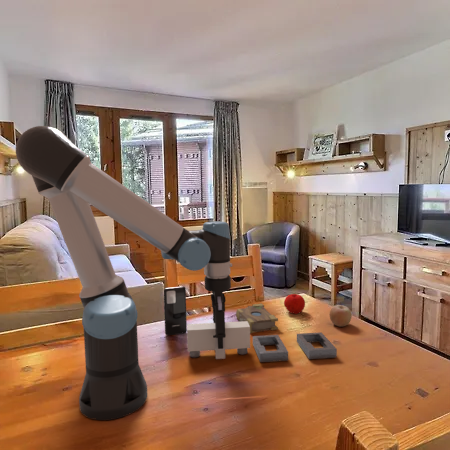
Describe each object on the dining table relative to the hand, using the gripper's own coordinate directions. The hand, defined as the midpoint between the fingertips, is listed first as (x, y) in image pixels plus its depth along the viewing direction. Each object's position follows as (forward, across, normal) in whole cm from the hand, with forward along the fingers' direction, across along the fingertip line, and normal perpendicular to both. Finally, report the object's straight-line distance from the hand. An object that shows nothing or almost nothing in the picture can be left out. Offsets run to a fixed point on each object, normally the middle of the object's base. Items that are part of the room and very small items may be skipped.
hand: (219, 352), depth 104 cm
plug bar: (0, 0, 0) cm, 0 cm away
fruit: (+1, +16, -44) cm, 47 cm away
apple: (+1, +30, -32) cm, 44 cm away
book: (+1, +21, -15) cm, 26 cm away
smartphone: (0, +16, +13) cm, 21 cm away
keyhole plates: (0, +1, -22) cm, 22 cm away
